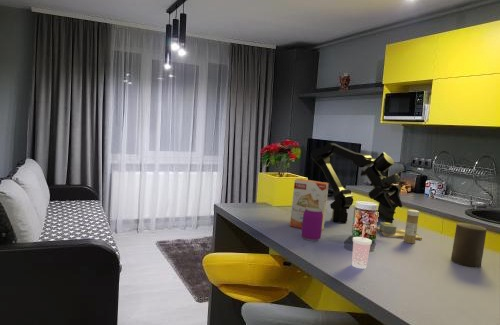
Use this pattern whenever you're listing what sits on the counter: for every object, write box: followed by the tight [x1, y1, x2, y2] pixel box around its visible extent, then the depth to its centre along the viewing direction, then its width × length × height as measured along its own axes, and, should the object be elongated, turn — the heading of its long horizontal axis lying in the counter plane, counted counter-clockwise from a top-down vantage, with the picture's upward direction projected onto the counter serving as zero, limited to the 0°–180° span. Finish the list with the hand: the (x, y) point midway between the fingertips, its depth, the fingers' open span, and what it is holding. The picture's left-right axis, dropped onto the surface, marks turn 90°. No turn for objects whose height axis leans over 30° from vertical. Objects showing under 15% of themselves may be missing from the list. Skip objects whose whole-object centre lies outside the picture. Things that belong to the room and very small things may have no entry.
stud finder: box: [379, 221, 397, 234], centre depth 177 cm, size 5×7×3 cm
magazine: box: [377, 195, 399, 224], centre depth 202 cm, size 4×13×15 cm, turn 11°
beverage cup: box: [351, 224, 373, 269], centre depth 130 cm, size 6×6×14 cm
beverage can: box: [301, 207, 323, 242], centre depth 158 cm, size 8×8×12 cm
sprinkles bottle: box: [403, 209, 420, 244], centre depth 165 cm, size 5×5×14 cm
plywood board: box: [376, 226, 423, 241], centre depth 177 cm, size 16×12×1 cm
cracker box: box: [289, 178, 330, 231], centre depth 173 cm, size 14×6×21 cm, turn 68°
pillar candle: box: [450, 222, 488, 268], centre depth 144 cm, size 10×10×15 cm
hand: (396, 207), depth 170 cm, fingers open, 9 cm apart
